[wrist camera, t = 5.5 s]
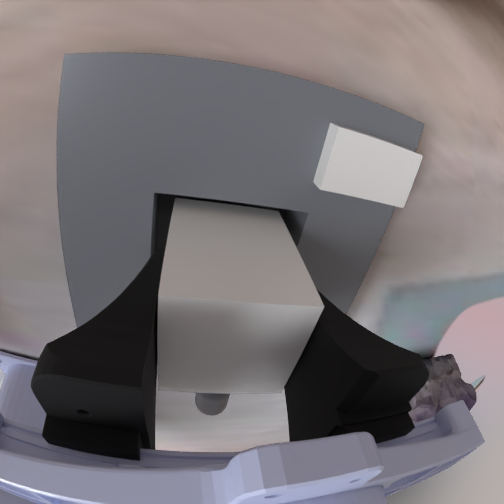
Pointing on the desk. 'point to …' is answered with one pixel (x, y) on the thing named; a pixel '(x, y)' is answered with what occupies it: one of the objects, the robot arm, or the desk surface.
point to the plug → (231, 303)
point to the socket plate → (220, 165)
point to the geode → (441, 389)
